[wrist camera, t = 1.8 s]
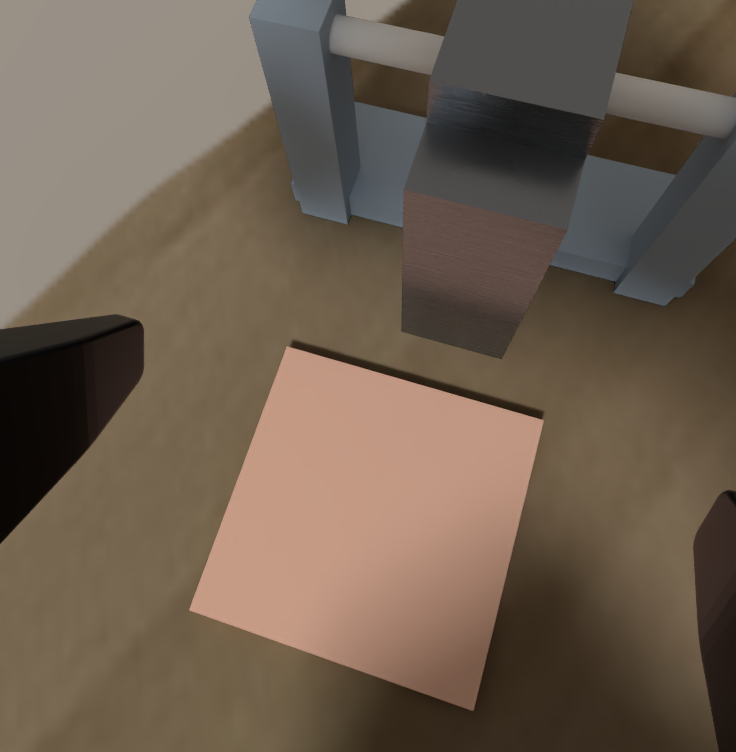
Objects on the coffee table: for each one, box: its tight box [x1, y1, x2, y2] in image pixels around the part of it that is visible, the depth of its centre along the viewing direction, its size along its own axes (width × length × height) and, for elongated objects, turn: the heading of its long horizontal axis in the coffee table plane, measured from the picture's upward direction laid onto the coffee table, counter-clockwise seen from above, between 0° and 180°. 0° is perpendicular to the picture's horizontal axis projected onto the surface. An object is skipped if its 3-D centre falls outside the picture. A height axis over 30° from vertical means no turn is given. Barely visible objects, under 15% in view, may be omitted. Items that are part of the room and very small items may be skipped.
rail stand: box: [249, 0, 736, 306], centre depth 21 cm, size 16×5×10 cm, turn 72°
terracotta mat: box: [189, 346, 544, 711], centre depth 22 cm, size 10×10×1 cm
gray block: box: [401, 0, 634, 359], centre depth 19 cm, size 4×7×11 cm, turn 162°
